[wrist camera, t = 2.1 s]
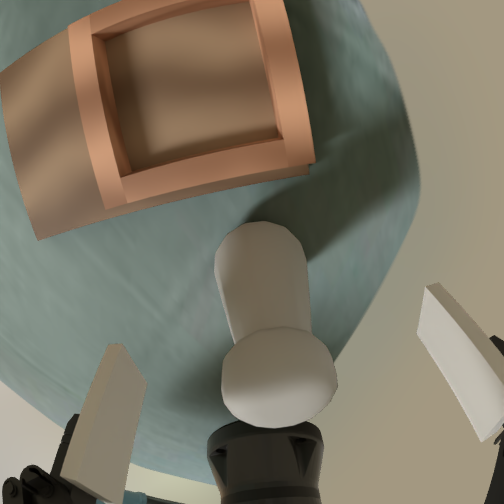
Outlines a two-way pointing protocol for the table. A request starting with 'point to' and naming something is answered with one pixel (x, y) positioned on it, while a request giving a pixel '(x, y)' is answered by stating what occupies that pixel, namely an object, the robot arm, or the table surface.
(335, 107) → the table surface
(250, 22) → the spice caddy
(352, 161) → the table surface
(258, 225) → the salt shaker
